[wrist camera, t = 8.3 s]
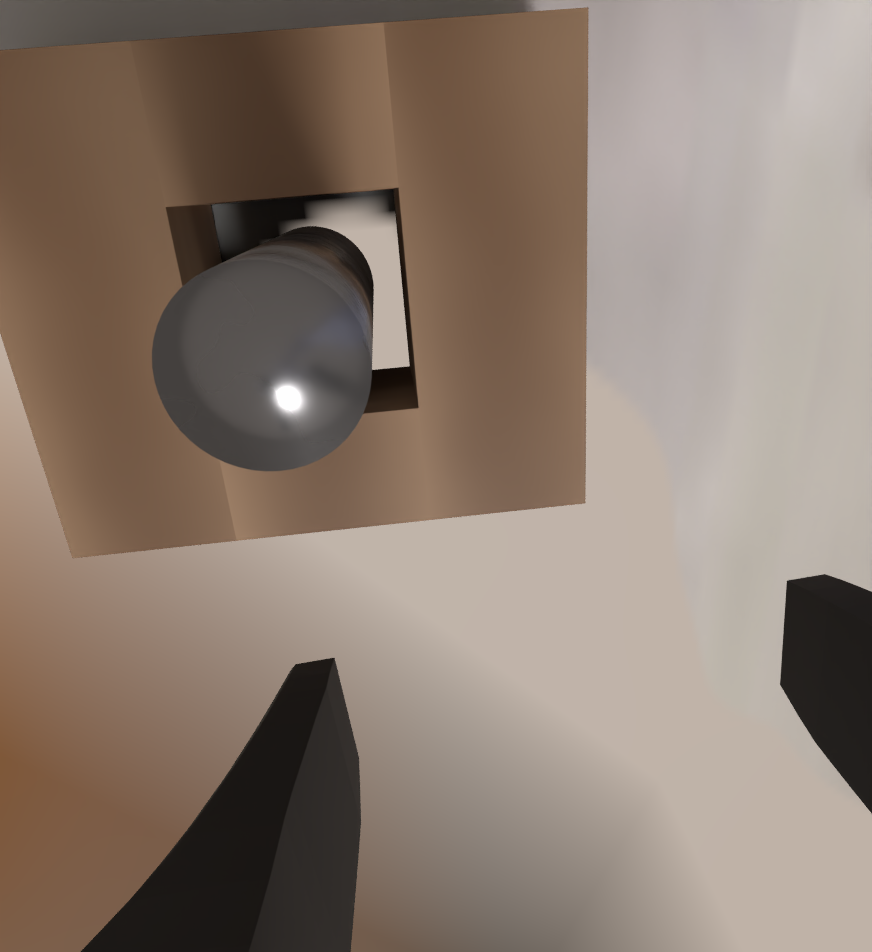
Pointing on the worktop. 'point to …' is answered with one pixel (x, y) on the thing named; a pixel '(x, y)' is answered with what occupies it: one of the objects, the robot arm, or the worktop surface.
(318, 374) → the peg
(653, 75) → the worktop surface
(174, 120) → the hole block
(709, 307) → the worktop surface
